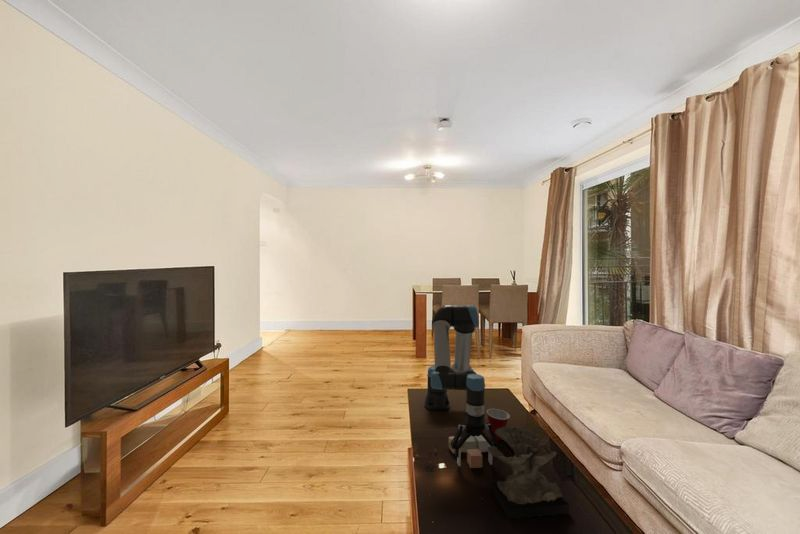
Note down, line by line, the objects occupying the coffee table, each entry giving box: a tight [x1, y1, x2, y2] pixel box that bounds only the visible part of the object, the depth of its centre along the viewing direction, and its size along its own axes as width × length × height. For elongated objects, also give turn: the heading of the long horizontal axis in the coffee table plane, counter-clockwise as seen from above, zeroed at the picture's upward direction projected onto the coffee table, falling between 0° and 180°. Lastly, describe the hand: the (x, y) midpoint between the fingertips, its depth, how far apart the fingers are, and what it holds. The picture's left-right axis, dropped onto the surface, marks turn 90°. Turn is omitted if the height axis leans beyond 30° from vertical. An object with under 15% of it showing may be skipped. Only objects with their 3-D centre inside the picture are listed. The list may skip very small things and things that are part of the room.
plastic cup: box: [486, 408, 511, 441], centre depth 161 cm, size 11×11×12 cm
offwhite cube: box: [474, 435, 490, 453], centre depth 151 cm, size 5×5×5 cm
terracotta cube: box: [466, 449, 483, 469], centre depth 139 cm, size 5×5×5 cm
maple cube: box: [448, 435, 465, 455], centre depth 150 cm, size 5×5×5 cm
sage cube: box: [463, 436, 476, 454], centre depth 150 cm, size 5×5×5 cm
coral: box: [488, 426, 570, 519], centre depth 120 cm, size 25×20×22 cm
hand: (474, 463), depth 139 cm, fingers open, 13 cm apart
